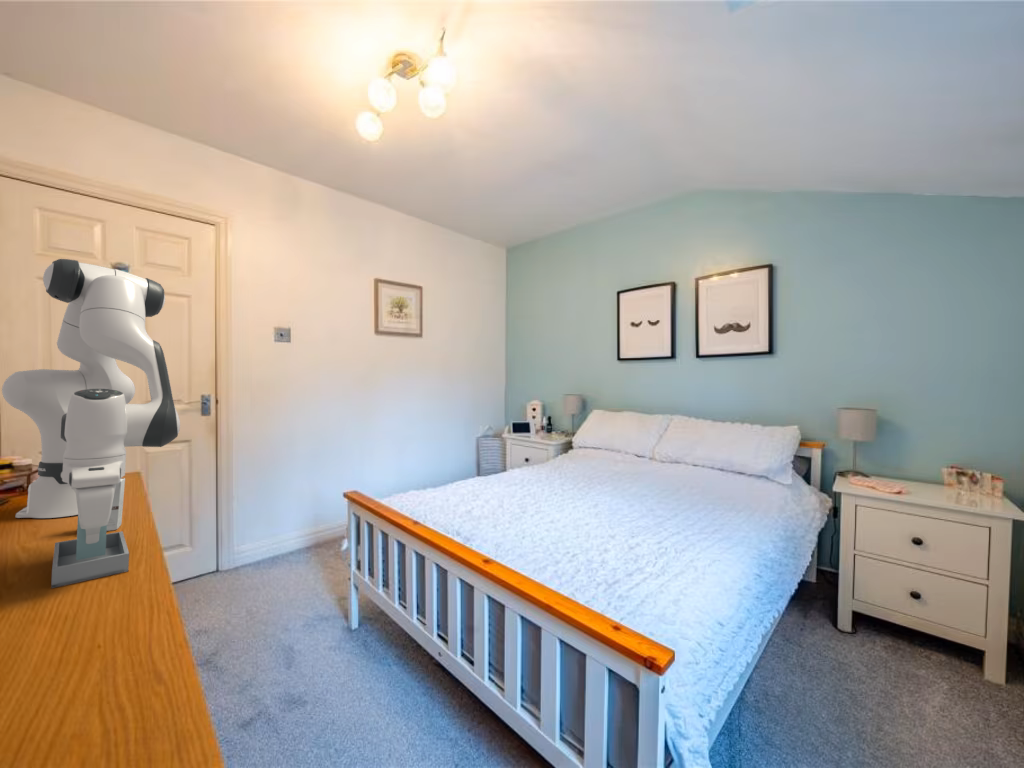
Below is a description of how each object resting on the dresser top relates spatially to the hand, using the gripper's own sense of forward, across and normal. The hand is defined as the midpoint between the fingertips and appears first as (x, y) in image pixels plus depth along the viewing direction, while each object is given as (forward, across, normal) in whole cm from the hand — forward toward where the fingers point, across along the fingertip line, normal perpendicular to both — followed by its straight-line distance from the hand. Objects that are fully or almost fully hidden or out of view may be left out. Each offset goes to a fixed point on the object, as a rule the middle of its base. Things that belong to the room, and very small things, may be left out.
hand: (91, 538), depth 81 cm
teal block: (+3, 0, 0) cm, 3 cm away
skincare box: (+6, -25, +3) cm, 26 cm away
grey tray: (+5, 0, 0) cm, 5 cm away
